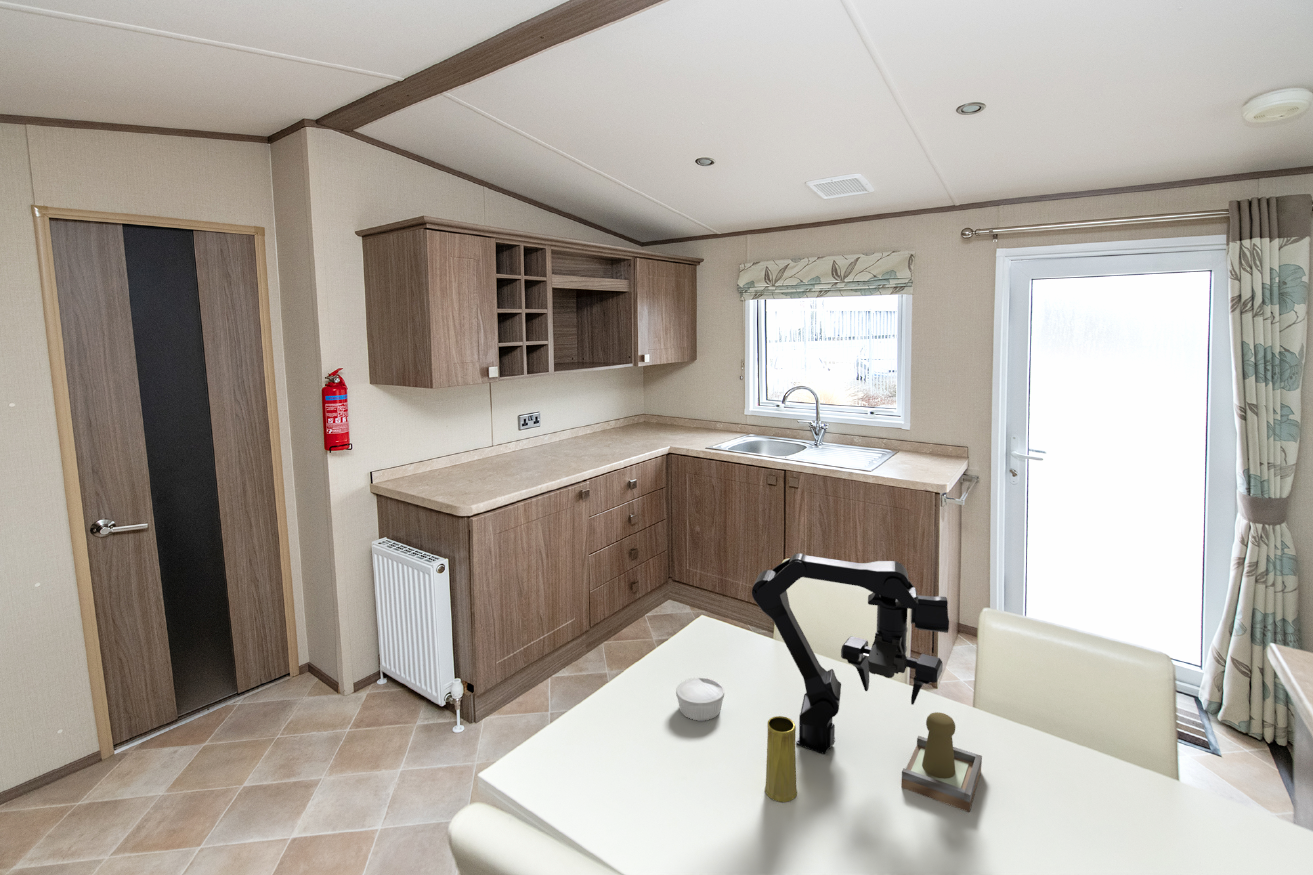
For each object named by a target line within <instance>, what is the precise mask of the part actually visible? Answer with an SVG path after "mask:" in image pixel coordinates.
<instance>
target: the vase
mask: <svg viewBox="0 0 1313 875" xmlns="http://www.w3.org/2000/svg"><path fill="white" fill-rule="evenodd" d="M796 729H797V728H796V724H795V721H794V720H792V718H789V717H787V716H782V715H779V716H778V715H777V716H773V717H770V718H769V719H768V720H767V736H766V738H767V743H766V745H767V746H766V750H767V751H766V767H765V770H766V771H765V787H764V792H765V793H766V795H767V797H768V798H770V799H771V800H773V801H775V802H779V803H787V802H788V803H789V802H792V801H793V800H794V799H796V797H797V795H798V790H797V785H798V784H797V765H796V764H797V762H796V760H797V758H796V757H797V756H796V733H797V732H796V731H797V730H796Z"/></svg>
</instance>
